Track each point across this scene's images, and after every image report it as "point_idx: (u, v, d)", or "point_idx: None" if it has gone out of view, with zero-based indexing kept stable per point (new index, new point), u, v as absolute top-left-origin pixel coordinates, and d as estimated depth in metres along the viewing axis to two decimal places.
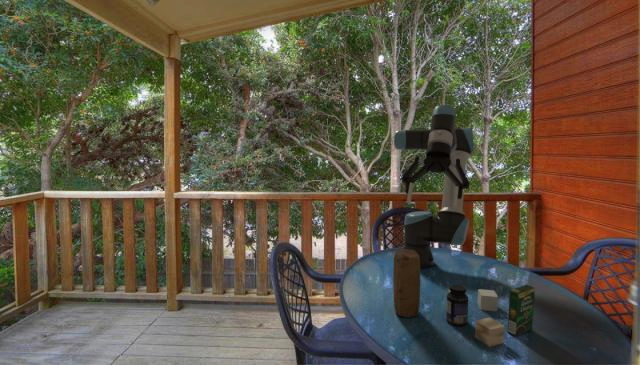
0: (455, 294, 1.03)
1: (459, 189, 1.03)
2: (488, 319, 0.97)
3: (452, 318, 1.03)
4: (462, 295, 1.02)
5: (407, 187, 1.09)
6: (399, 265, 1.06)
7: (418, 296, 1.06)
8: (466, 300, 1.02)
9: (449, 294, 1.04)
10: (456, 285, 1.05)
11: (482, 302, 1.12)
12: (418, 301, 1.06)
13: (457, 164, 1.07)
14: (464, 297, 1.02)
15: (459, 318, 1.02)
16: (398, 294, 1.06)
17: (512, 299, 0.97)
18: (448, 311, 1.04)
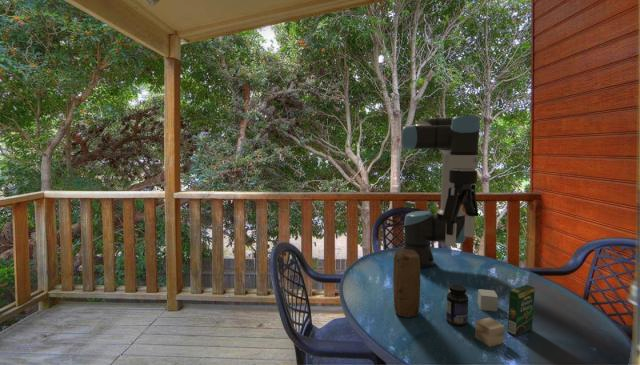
0: (455, 294, 1.03)
1: None
2: (488, 319, 0.97)
3: (452, 318, 1.03)
4: (462, 295, 1.02)
5: (452, 229, 0.95)
6: (399, 265, 1.06)
7: (418, 296, 1.06)
8: (466, 300, 1.02)
9: (449, 294, 1.04)
10: (456, 285, 1.05)
11: (482, 302, 1.12)
12: (418, 301, 1.06)
13: (474, 191, 1.04)
14: (464, 297, 1.02)
15: (459, 318, 1.02)
16: (398, 294, 1.06)
17: (512, 299, 0.97)
18: (448, 311, 1.04)
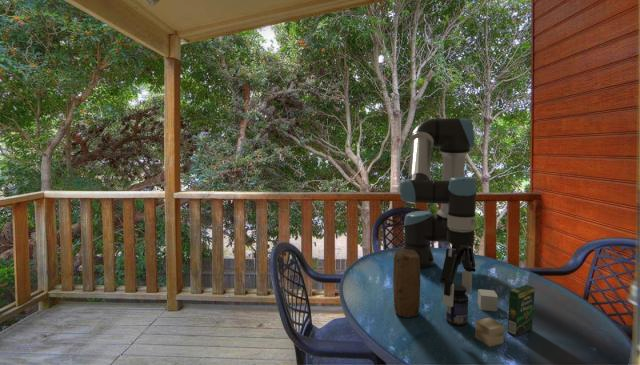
0: (455, 294, 1.03)
1: None
2: (488, 319, 0.97)
3: (452, 318, 1.03)
4: (462, 295, 1.02)
5: (449, 290, 0.97)
6: (399, 265, 1.06)
7: (418, 296, 1.06)
8: (466, 300, 1.02)
9: None
10: (456, 285, 1.05)
11: (482, 302, 1.12)
12: (418, 301, 1.06)
13: (471, 248, 1.06)
14: (464, 297, 1.02)
15: (459, 318, 1.02)
16: (398, 294, 1.06)
17: (512, 299, 0.97)
18: (448, 311, 1.04)
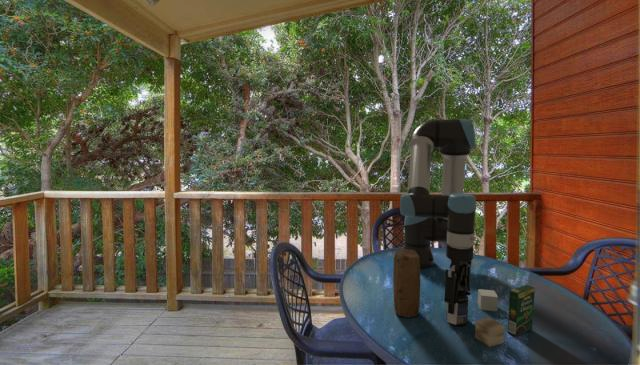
0: None
1: None
2: (488, 319, 0.97)
3: None
4: (462, 295, 1.02)
5: (453, 309, 1.01)
6: (399, 265, 1.06)
7: (418, 296, 1.06)
8: (466, 300, 1.02)
9: None
10: None
11: (482, 302, 1.12)
12: (418, 301, 1.06)
13: (469, 267, 1.06)
14: (464, 297, 1.02)
15: (459, 318, 1.02)
16: (398, 294, 1.06)
17: (512, 299, 0.97)
18: None
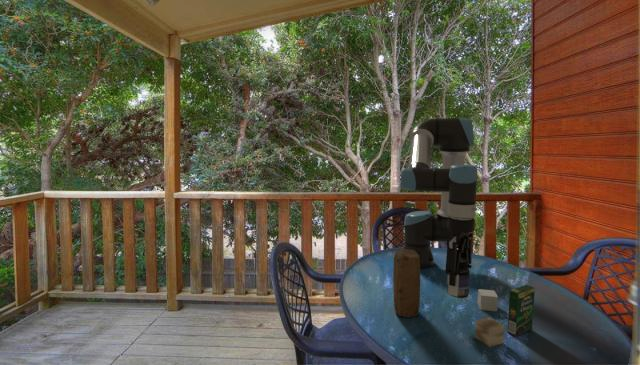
0: None
1: None
2: (488, 319, 0.97)
3: None
4: (463, 267, 1.01)
5: (454, 280, 1.00)
6: (399, 265, 1.06)
7: (418, 296, 1.06)
8: (468, 272, 1.01)
9: None
10: None
11: (482, 302, 1.12)
12: (418, 301, 1.06)
13: (471, 240, 1.06)
14: (465, 269, 1.01)
15: (460, 290, 1.01)
16: (398, 294, 1.06)
17: (512, 299, 0.97)
18: None
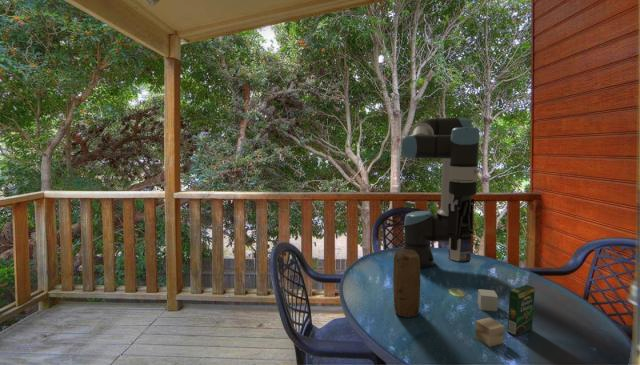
0: None
1: None
2: (488, 319, 0.97)
3: None
4: (465, 231, 1.00)
5: (456, 244, 0.99)
6: (399, 265, 1.06)
7: (418, 296, 1.06)
8: (469, 236, 1.00)
9: None
10: None
11: (482, 302, 1.12)
12: (418, 301, 1.06)
13: (472, 205, 1.04)
14: (467, 233, 1.00)
15: (462, 255, 1.00)
16: (398, 294, 1.06)
17: (512, 299, 0.97)
18: None
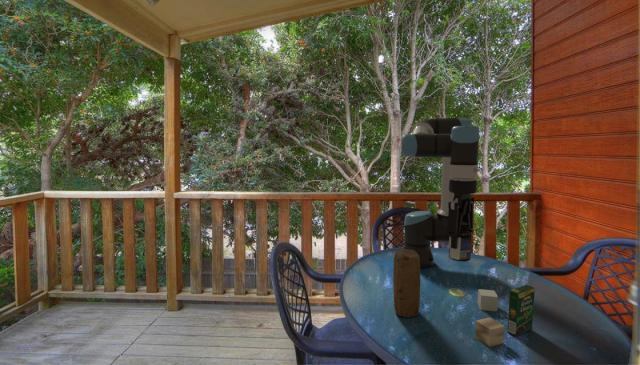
0: None
1: None
2: (488, 319, 0.97)
3: None
4: (465, 230, 1.00)
5: (456, 243, 0.99)
6: (399, 265, 1.06)
7: (418, 296, 1.06)
8: (470, 234, 1.00)
9: None
10: None
11: (482, 302, 1.12)
12: (418, 301, 1.06)
13: (472, 204, 1.04)
14: (467, 232, 1.00)
15: (462, 253, 1.00)
16: (398, 294, 1.06)
17: (512, 299, 0.97)
18: None
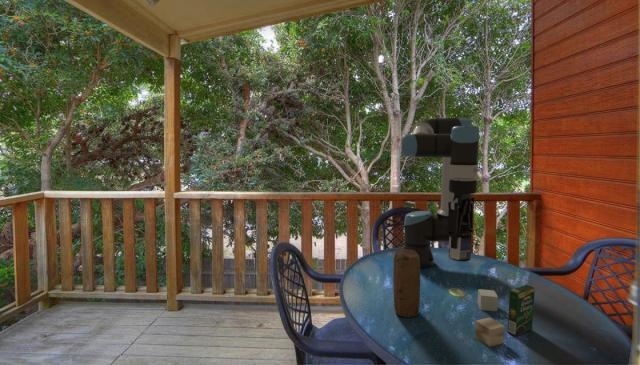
0: None
1: None
2: (488, 319, 0.97)
3: None
4: (465, 230, 1.00)
5: (456, 243, 0.99)
6: (399, 265, 1.06)
7: (418, 296, 1.06)
8: (470, 234, 1.00)
9: None
10: None
11: (482, 302, 1.12)
12: (418, 301, 1.06)
13: (472, 204, 1.04)
14: (467, 232, 1.00)
15: (462, 253, 1.00)
16: (398, 294, 1.06)
17: (512, 299, 0.97)
18: None
